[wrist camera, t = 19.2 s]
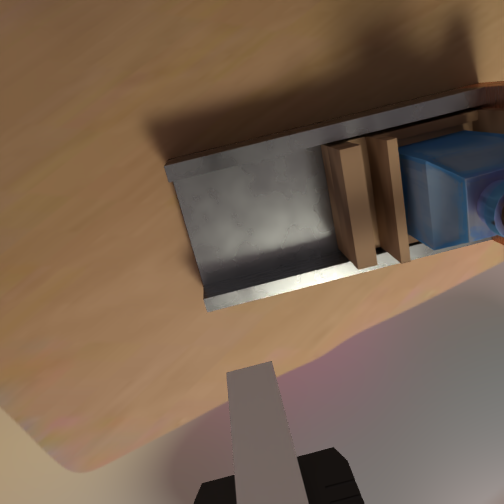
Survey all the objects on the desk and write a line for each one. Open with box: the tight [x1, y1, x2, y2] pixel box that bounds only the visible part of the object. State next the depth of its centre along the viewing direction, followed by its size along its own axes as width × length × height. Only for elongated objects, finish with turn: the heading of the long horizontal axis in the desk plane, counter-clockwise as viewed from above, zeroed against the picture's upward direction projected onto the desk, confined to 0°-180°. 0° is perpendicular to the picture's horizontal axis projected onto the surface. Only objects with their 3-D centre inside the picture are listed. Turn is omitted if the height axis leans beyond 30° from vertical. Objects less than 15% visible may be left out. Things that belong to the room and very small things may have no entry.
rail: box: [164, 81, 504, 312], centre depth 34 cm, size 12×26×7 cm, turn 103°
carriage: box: [321, 108, 504, 270], centre depth 33 cm, size 9×12×6 cm
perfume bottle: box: [398, 130, 504, 250], centre depth 28 cm, size 6×6×12 cm
